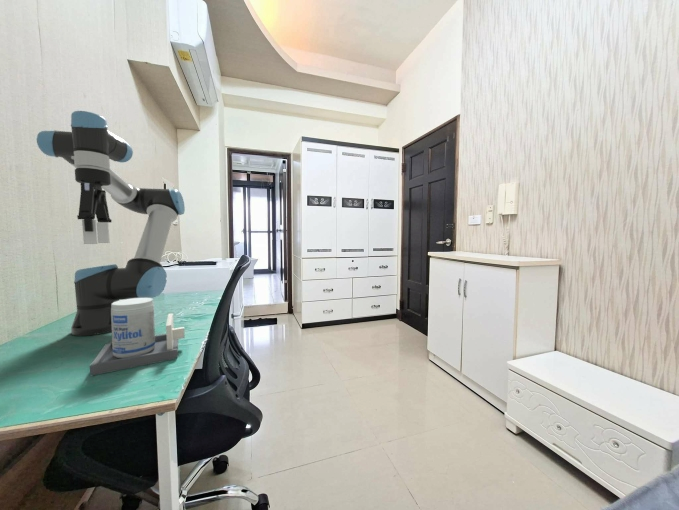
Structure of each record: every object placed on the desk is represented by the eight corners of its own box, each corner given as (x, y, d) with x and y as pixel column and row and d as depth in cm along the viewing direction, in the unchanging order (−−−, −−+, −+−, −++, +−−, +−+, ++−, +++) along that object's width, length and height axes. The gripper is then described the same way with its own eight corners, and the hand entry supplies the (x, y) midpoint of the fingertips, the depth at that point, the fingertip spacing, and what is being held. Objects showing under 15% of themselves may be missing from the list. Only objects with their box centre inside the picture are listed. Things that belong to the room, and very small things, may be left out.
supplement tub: (110, 363, 69) (106, 307, 68) (115, 350, 77) (112, 300, 76) (155, 353, 74) (152, 301, 73) (156, 342, 82) (153, 295, 81)
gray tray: (107, 351, 78) (106, 343, 78) (178, 339, 87) (178, 331, 87) (90, 375, 65) (89, 365, 64) (177, 358, 74) (176, 349, 73)
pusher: (169, 338, 85) (168, 313, 84) (184, 335, 87) (183, 311, 87) (167, 354, 73) (165, 325, 73) (185, 350, 76) (183, 323, 75)
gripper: (88, 177, 86) (93, 243, 87) (56, 156, 64) (63, 244, 66) (118, 179, 89) (122, 242, 91) (97, 160, 68) (103, 244, 69)
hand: (97, 243), depth 78 cm, fingers open, 13 cm apart
